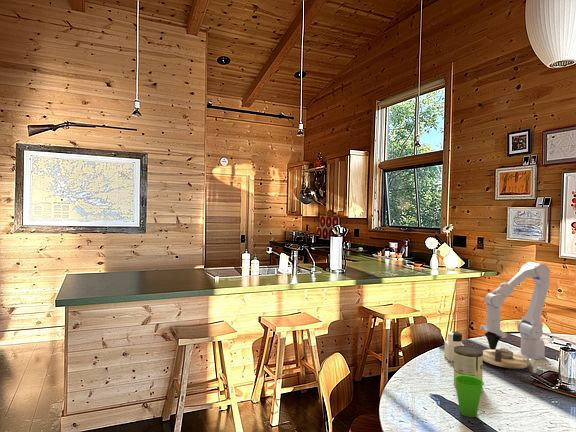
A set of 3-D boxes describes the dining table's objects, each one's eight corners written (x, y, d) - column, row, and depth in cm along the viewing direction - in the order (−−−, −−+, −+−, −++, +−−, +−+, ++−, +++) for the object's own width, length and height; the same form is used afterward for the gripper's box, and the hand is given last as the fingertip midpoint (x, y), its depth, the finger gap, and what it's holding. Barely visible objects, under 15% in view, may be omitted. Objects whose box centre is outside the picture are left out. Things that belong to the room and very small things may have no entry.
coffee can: (452, 379, 163) (453, 344, 163) (480, 383, 160) (481, 347, 160) (453, 389, 154) (454, 352, 154) (484, 393, 150) (484, 355, 150)
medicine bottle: (460, 356, 190) (460, 330, 190) (465, 361, 183) (465, 335, 183) (444, 355, 191) (444, 330, 191) (448, 361, 184) (449, 334, 184)
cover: (498, 352, 188) (498, 345, 188) (515, 356, 183) (515, 349, 183) (493, 356, 183) (493, 349, 183) (510, 360, 178) (510, 353, 178)
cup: (448, 407, 139) (449, 374, 139) (474, 406, 140) (474, 374, 140) (462, 420, 130) (462, 385, 130) (489, 419, 131) (489, 385, 131)
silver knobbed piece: (524, 366, 178) (524, 354, 178) (538, 373, 171) (538, 359, 171) (518, 367, 178) (519, 354, 178) (532, 373, 170) (532, 360, 170)
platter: (489, 349, 197) (489, 338, 197) (536, 360, 182) (536, 348, 182) (472, 359, 183) (472, 347, 183) (522, 372, 169) (522, 358, 169)
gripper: (475, 316, 196) (474, 344, 196) (497, 324, 182) (496, 354, 182) (487, 315, 198) (487, 343, 198) (510, 323, 184) (510, 353, 184)
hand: (492, 349), depth 190 cm, fingers closed
